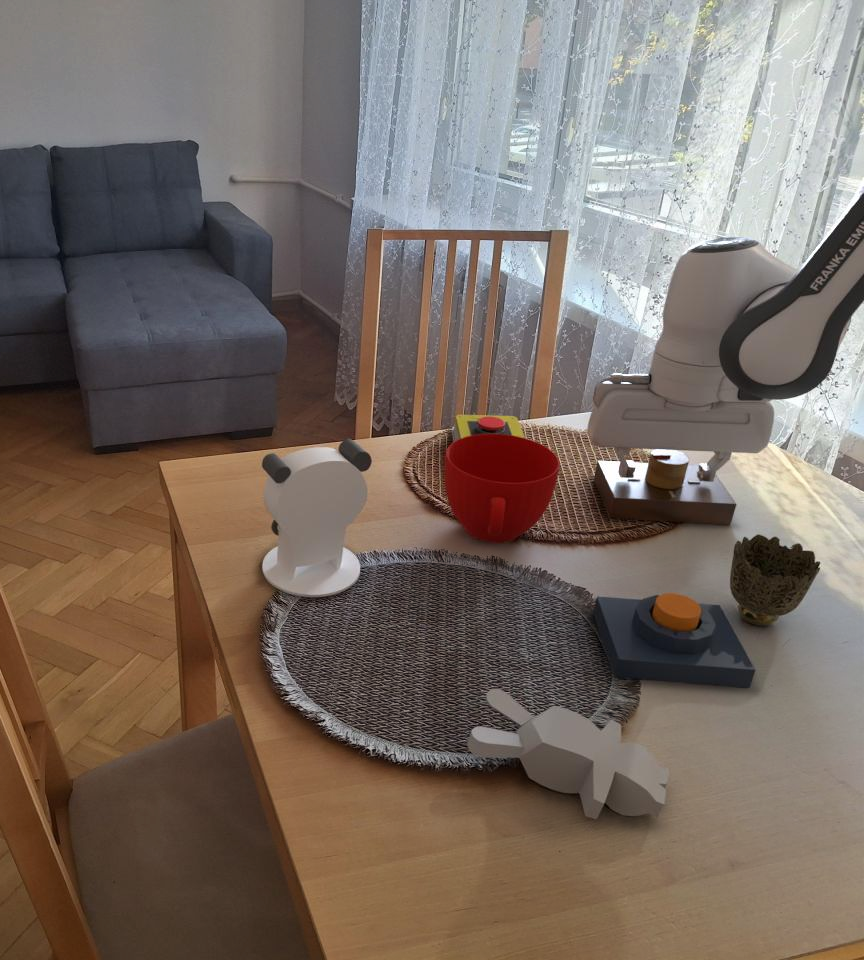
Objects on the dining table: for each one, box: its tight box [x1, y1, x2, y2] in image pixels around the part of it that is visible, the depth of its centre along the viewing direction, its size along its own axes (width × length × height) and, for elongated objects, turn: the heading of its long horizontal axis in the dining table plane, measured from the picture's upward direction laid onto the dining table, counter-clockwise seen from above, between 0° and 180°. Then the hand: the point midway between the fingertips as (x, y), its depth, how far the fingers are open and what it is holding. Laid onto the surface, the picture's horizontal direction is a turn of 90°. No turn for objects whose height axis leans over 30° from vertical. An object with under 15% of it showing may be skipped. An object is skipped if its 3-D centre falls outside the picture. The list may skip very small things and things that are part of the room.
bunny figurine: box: [466, 688, 670, 820], centre depth 71 cm, size 10×5×15 cm
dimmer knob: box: [645, 449, 690, 489], centre depth 108 cm, size 4×4×4 cm
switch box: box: [592, 594, 756, 689], centre depth 85 cm, size 12×10×4 cm
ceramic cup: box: [444, 434, 561, 544], centre depth 102 cm, size 13×17×10 cm
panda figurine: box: [261, 438, 373, 598], centre depth 97 cm, size 12×11×15 cm
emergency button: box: [451, 414, 526, 442], centre depth 123 cm, size 9×4×15 cm
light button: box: [652, 592, 701, 632], centre depth 84 cm, size 4×4×2 cm
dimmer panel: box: [593, 460, 737, 526], centre depth 110 cm, size 14×10×3 cm
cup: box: [729, 533, 821, 627], centre depth 88 cm, size 8×7×8 cm
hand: (664, 477), depth 109 cm, fingers open, 8 cm apart
